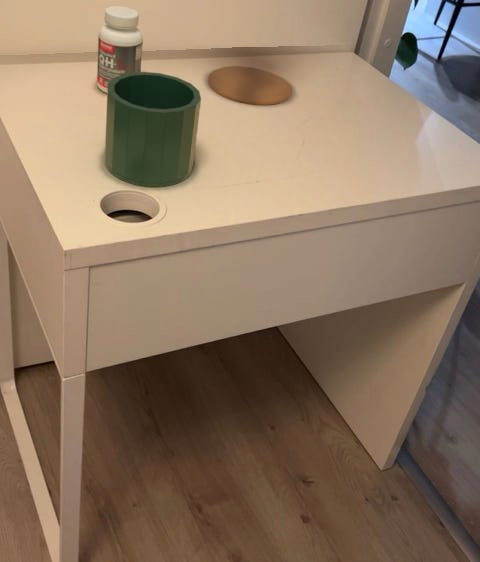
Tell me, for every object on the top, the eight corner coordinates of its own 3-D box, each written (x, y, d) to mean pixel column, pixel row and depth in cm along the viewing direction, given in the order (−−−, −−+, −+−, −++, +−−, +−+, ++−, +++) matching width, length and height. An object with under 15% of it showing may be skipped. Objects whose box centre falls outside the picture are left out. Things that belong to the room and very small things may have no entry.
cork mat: (213, 101, 95) (213, 98, 94) (203, 65, 104) (203, 63, 103) (299, 107, 97) (300, 105, 97) (282, 72, 106) (283, 69, 106)
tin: (105, 184, 75) (108, 108, 70) (104, 141, 82) (107, 68, 77) (195, 189, 77) (205, 114, 72) (187, 146, 84) (195, 75, 79)
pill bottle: (92, 93, 91) (94, 14, 86) (101, 76, 96) (104, 0, 90) (135, 100, 92) (140, 22, 86) (142, 83, 96) (147, 8, 90)
